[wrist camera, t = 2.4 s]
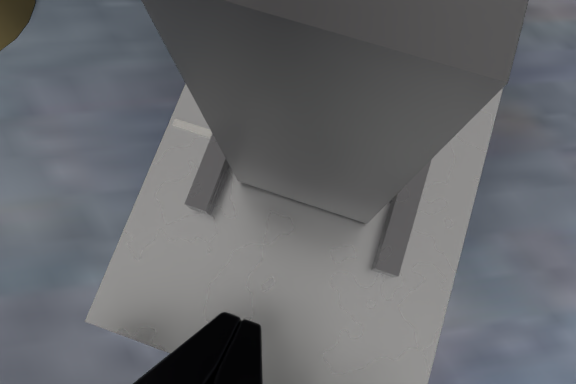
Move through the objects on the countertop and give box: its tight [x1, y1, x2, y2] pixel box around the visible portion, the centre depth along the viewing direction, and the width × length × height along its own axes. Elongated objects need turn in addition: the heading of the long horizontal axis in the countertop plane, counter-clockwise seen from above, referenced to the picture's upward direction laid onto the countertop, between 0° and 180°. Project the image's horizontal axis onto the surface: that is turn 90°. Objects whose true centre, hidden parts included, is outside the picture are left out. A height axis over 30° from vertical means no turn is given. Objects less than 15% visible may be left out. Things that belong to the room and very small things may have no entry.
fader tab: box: [142, 0, 529, 224], centre depth 11 cm, size 3×5×11 cm, turn 72°
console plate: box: [85, 84, 503, 384], centre depth 17 cm, size 20×12×2 cm, turn 162°
